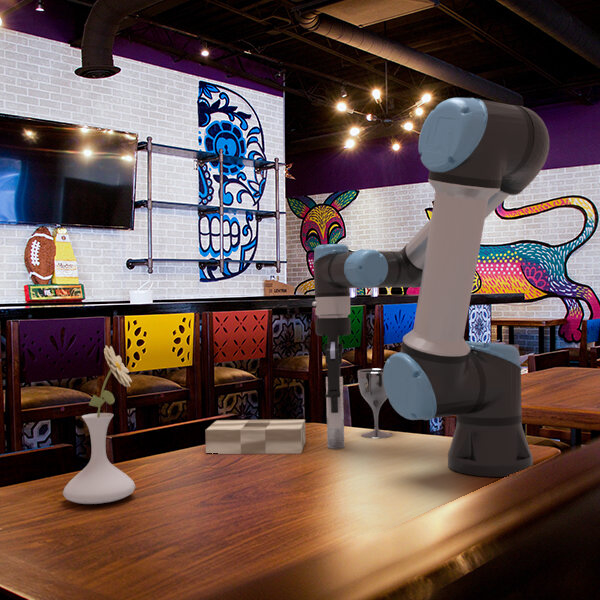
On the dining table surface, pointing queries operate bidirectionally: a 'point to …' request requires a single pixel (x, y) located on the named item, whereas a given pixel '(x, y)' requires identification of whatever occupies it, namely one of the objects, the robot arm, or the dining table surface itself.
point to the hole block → (255, 436)
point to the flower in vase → (101, 450)
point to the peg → (336, 434)
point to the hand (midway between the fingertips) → (335, 425)
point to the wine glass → (373, 396)
